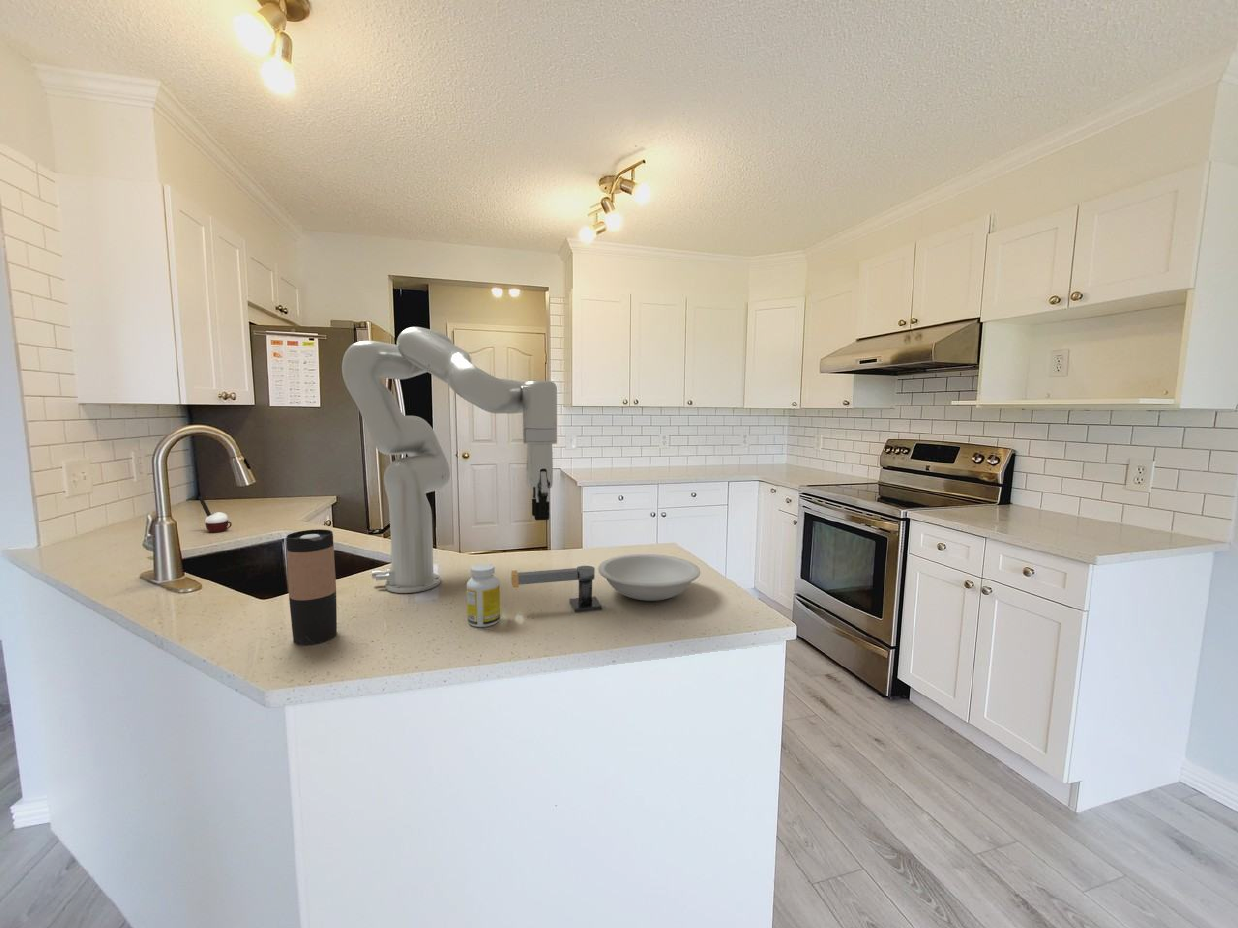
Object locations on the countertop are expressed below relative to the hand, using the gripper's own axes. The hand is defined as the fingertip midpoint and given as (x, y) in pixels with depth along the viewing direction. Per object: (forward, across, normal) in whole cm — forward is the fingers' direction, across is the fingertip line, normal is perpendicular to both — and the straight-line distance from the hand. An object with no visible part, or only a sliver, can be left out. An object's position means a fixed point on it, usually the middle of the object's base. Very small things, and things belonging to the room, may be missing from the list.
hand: (540, 516), depth 116 cm
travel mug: (+19, +8, -44) cm, 49 cm away
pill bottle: (+19, +10, -13) cm, 25 cm away
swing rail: (+13, +7, +2) cm, 15 cm away
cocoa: (+19, -92, -99) cm, 136 cm away
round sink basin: (+20, +4, +25) cm, 32 cm away
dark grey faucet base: (+19, +6, +9) cm, 22 cm away
